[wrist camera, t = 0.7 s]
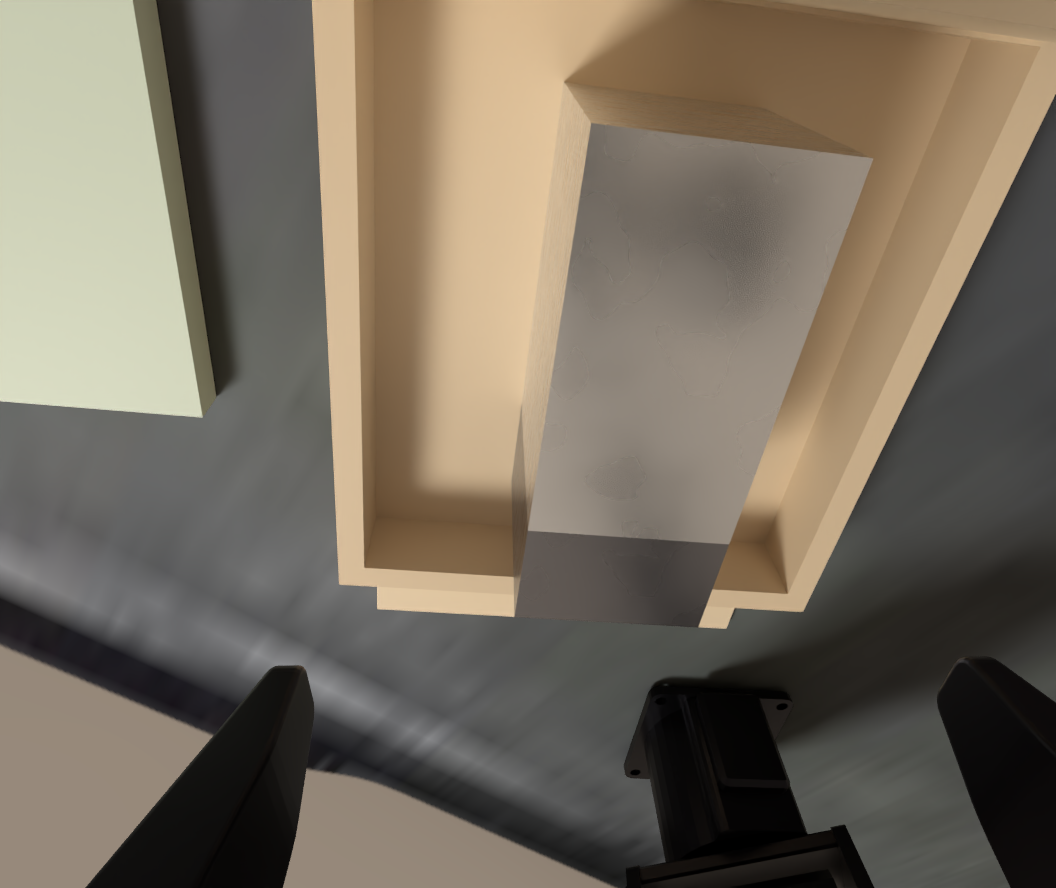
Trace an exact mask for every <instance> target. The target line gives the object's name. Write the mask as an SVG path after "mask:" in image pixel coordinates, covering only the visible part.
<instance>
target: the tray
mask: <svg viewBox="0 0 1056 888" xmlns="http://www.w3.org/2000/svg"><path fill="white" fill-rule="evenodd" d="M312 10H313V31H314V53H315V74H316V96H317V117H318V139H319V160H320V182H321V203H322V225H323V246H324V268H325V289H326V311H327V332H328V354H329V375H330V397H331V418H332V440H333V461H334V483H335V504H336V526H337V547H338V569H339V584H340V585H357V586H374V587H377V609H387V610H404V611H422V612H440V613H458V614H475V615H493V616H511V617H514V576H513V531H512V486H511V480H512V472H513V464H514V457H515V449H516V441H517V434H518V426H519V418H520V411H521V403H522V396H523V388H524V380H525V373H526V365H527V357H528V350H529V342H530V335H531V327H532V319H533V312H534V304H535V296H536V289H537V281H538V274H539V266H540V258H541V251H542V243H543V235H544V228H545V220H546V213H547V205H548V197H549V190H550V182H551V174H552V167H553V159H554V152H555V144H556V136H557V129H558V121H559V113H560V106H561V98H562V91H563V83H564V82H569V83H577V84H585V85H592V86H600V87H608V88H615V89H623V90H631V91H638V92H646V93H654V94H661V95H669V96H677V97H684V98H692V99H699V100H707V101H715V102H722V103H730V104H738V105H745V106H753V107H761V108H765V109H767V110H769V111H771V112H774V113H776V114H778V115H780V116H782V117H784V118H787V119H789V120H791V121H793V122H795V123H797V124H800V125H802V126H804V127H806V128H808V129H811V130H813V131H815V132H817V133H819V134H821V135H824V136H826V137H828V138H830V139H832V140H834V141H837V142H839V143H841V144H843V145H845V146H848V147H850V148H852V149H854V150H856V151H858V152H861V153H863V154H865V155H867V156H869V157H871V158H873V161H872V164H871V166H870V169H869V172H868V174H867V177H866V180H865V182H864V185H863V188H862V191H861V193H860V196H859V199H858V201H857V204H856V207H855V209H854V212H853V215H852V217H851V220H850V223H849V225H848V228H847V231H846V233H845V236H844V239H843V241H842V244H841V247H840V249H839V252H838V255H837V257H836V260H835V263H834V265H833V268H832V271H831V273H830V276H829V279H828V281H827V284H826V287H825V290H824V292H823V295H822V298H821V300H820V303H819V306H818V308H817V311H816V314H815V316H814V319H813V322H812V324H811V327H810V330H809V332H808V335H807V338H806V340H805V343H804V346H803V348H802V351H801V354H800V356H799V359H798V362H797V364H796V367H795V370H794V372H793V375H792V378H791V380H790V383H789V386H788V389H787V391H786V394H785V397H784V399H783V402H782V405H781V407H780V410H779V413H778V415H777V418H776V421H775V423H774V426H773V429H772V431H771V434H770V437H769V439H768V442H767V445H766V447H765V450H764V453H763V455H762V458H761V461H760V463H759V466H758V469H757V471H756V474H755V477H754V479H753V482H752V485H751V488H750V490H749V493H748V496H747V498H746V501H745V504H744V506H743V509H742V512H741V514H740V517H739V520H738V522H737V525H736V528H735V530H734V533H733V536H732V538H731V541H730V544H729V546H728V549H727V552H726V554H725V557H724V560H723V562H722V565H721V568H720V570H719V573H718V576H717V579H716V581H715V584H714V587H713V589H712V592H711V595H710V597H709V600H708V603H707V605H706V608H705V611H704V613H703V616H702V619H701V621H700V624H699V627H706V628H724V629H726V628H727V626H728V623H729V621H730V618H731V616H732V613H733V611H734V609H735V608H744V609H761V610H778V611H795V612H803V611H804V609H805V606H806V604H807V602H808V600H809V598H810V596H811V594H812V592H813V590H814V588H815V586H816V584H817V582H818V580H819V578H820V576H821V574H822V572H823V570H824V568H825V565H826V563H827V561H828V559H829V557H830V555H831V553H832V551H833V549H834V547H835V545H836V543H837V541H838V539H839V537H840V535H841V533H842V531H843V529H844V527H845V525H846V522H847V520H848V518H849V516H850V514H851V512H852V510H853V508H854V506H855V504H856V502H857V500H858V498H859V496H860V494H861V492H862V490H863V488H864V486H865V484H866V481H867V479H868V477H869V475H870V473H871V471H872V469H873V467H874V465H875V463H876V461H877V459H878V457H879V455H880V453H881V451H882V449H883V447H884V445H885V443H886V440H887V438H888V436H889V434H890V432H891V430H892V428H893V426H894V424H895V422H896V420H897V418H898V416H899V414H900V412H901V410H902V408H903V406H904V404H905V402H906V400H907V397H908V395H909V393H910V391H911V389H912V387H913V385H914V383H915V381H916V379H917V377H918V375H919V373H920V371H921V369H922V367H923V365H924V363H925V361H926V359H927V356H928V354H929V352H930V350H931V348H932V346H933V344H934V342H935V340H936V338H937V336H938V334H939V332H940V330H941V328H942V326H943V324H944V322H945V320H946V318H947V315H948V313H949V311H950V309H951V307H952V305H953V303H954V301H955V299H956V297H957V295H958V293H959V291H960V289H961V287H962V285H963V283H964V281H965V279H966V277H967V274H968V272H969V270H970V268H971V266H972V264H973V262H974V260H975V258H976V256H977V254H978V252H979V250H980V248H981V246H982V244H983V242H984V240H985V238H986V236H987V234H988V231H989V229H990V227H991V225H992V223H993V221H994V219H995V217H996V215H997V213H998V211H999V209H1000V207H1001V205H1002V203H1003V201H1004V199H1005V197H1006V195H1007V193H1008V190H1009V188H1010V186H1011V184H1012V182H1013V180H1014V178H1015V176H1016V174H1017V172H1018V170H1019V168H1020V166H1021V164H1022V162H1023V160H1024V158H1025V156H1026V154H1027V152H1028V149H1029V147H1030V145H1031V143H1032V141H1033V139H1034V137H1035V135H1036V133H1037V131H1038V129H1039V127H1040V125H1041V123H1042V121H1043V119H1044V117H1045V115H1046V113H1047V111H1048V108H1049V106H1050V104H1051V102H1052V100H1053V98H1054V96H1055V94H1056V0H312Z"/></svg>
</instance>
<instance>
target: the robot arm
mask: <svg viewBox="0 0 1056 888" xmlns="http://www.w3.org/2000/svg"><path fill="white" fill-rule="evenodd" d="M937 704H938V709H939V712H940V715H941V718H942V721H943V723H944V726H945V729H946V732H947V735H948V737H949V740H950V743H951V746H952V748H953V751H954V754H955V757H956V759H957V762H958V765H959V768H960V771H961V773H962V776H963V779H964V782H965V784H966V787H967V790H968V793H969V795H970V798H971V801H972V803H973V806H974V809H975V811H976V814H977V816H978V819H979V821H980V823H981V825H982V828H983V830H984V832H985V834H986V837H987V839H988V841H989V843H990V845H991V847H992V849H993V852H994V854H995V856H996V858H997V860H998V862H999V864H1000V866H1001V869H1002V871H1003V873H1004V875H1005V877H1006V879H1007V881H1008V883H1009V885H1010V888H1056V702H1054V701H1053V700H1051V699H1050V698H1049V697H1047V696H1046V695H1045V694H1043V693H1042V692H1040V691H1039V690H1038V689H1036V688H1035V687H1034V686H1032V685H1031V684H1029V683H1028V682H1027V681H1025V680H1024V679H1023V678H1021V677H1020V676H1018V675H1017V674H1016V673H1014V672H1013V671H1012V670H1010V669H1009V668H1007V667H1006V666H1005V665H1003V664H1002V663H1001V662H999V661H997V660H996V659H993V658H991V657H985V656H980V657H962V658H960V659H958V660H957V661H956V662H955V664H954V666H953V667H952V669H951V671H950V672H949V674H948V676H947V677H946V679H945V681H944V682H943V684H942V686H941V688H940V689H939V691H938V695H937ZM792 708H793V702H792V700H791V697H790V695H789V694H788V693H785V692H773V691H753V690H732V689H711V688H690V687H669V686H658V687H655V688H652V689H651V690H650V691H649V693H648V695H647V698H646V701H645V704H644V707H643V710H642V713H641V716H640V719H639V722H638V725H637V728H636V730H635V733H634V736H633V739H632V742H631V745H630V748H629V751H628V754H627V757H626V760H625V763H624V770H625V775H626V776H627V777H629V778H640V779H650V782H651V787H652V792H653V797H654V803H655V808H656V813H657V819H658V824H659V829H660V834H661V840H662V845H663V850H664V856H665V861H666V862H665V863H660V864H655V865H650V866H645V867H640V866H639V865H637V866H632V867H626V878H627V886H626V887H625V888H874V886H873V884H872V882H871V880H870V878H869V875H868V873H867V871H866V869H865V867H864V865H863V863H862V860H861V858H860V856H859V854H858V852H857V850H856V848H855V845H854V843H853V841H852V839H851V837H850V835H849V833H848V830H847V828H846V826H845V825H839V826H834V827H831V830H828V831H823V832H818V833H813V834H807V831H806V828H805V826H804V823H803V820H802V817H801V814H800V812H799V809H798V806H797V803H796V801H795V798H794V795H793V792H792V790H791V787H790V781H789V778H788V775H787V773H786V770H785V767H784V764H783V762H782V759H781V756H780V753H779V751H778V748H777V745H776V742H775V740H776V738H777V736H778V734H779V732H780V730H781V728H782V726H783V725H784V723H785V721H786V719H787V717H788V715H789V713H790V712H791V710H792ZM313 720H314V702H313V697H312V693H311V689H310V685H309V681H308V677H307V673H306V670H305V669H304V667H302V666H299V665H295V666H275V667H273V668H271V669H270V670H269V671H268V672H267V673H266V674H265V675H264V676H263V678H262V679H261V680H260V681H259V682H258V683H257V685H256V686H255V687H254V688H253V689H252V691H251V692H250V693H249V694H248V695H247V697H246V698H245V699H244V700H243V701H242V702H241V704H240V705H239V706H238V707H237V708H236V710H235V711H234V712H233V713H232V714H231V716H230V717H229V718H228V719H227V720H226V721H225V723H224V724H223V725H222V726H221V727H220V729H219V730H218V731H217V732H216V733H215V735H214V736H213V737H212V738H211V739H210V741H209V742H208V743H207V744H206V745H205V747H204V748H203V749H202V750H201V751H200V752H199V754H198V755H197V756H196V757H195V758H194V760H193V761H192V762H191V763H190V764H189V766H188V767H187V768H186V769H185V770H184V771H183V773H182V774H181V775H180V776H179V777H178V779H177V780H176V781H175V782H174V783H173V784H172V786H171V787H170V788H169V789H168V791H167V792H166V793H165V794H164V795H163V796H162V797H161V799H160V800H159V801H158V802H157V803H156V805H155V806H154V807H153V808H152V809H151V811H150V812H149V813H148V814H147V815H146V817H145V818H144V819H143V820H142V821H141V822H140V824H139V825H138V826H137V827H136V828H135V830H134V831H133V832H132V833H131V834H130V836H129V837H128V838H127V839H126V840H125V841H124V843H123V844H122V845H121V846H120V847H119V849H118V850H117V851H116V852H115V853H114V854H113V856H112V857H111V858H110V859H109V860H108V862H107V863H106V864H105V865H104V866H103V868H102V869H101V870H100V871H99V872H98V873H97V875H96V876H95V877H94V878H93V879H92V881H91V882H90V883H89V884H88V886H87V887H86V888H283V885H284V881H285V877H286V873H287V869H288V865H289V861H290V858H291V854H292V850H293V845H294V841H295V837H296V831H297V825H298V819H299V813H300V806H301V800H302V794H303V787H304V780H305V774H306V767H307V760H308V754H309V747H310V740H311V734H312V727H313Z"/></svg>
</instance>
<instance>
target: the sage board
mask: <svg viewBox="0 0 1056 888" xmlns="http://www.w3.org/2000/svg"><path fill="white" fill-rule="evenodd" d="M215 399H216V391H215V384H214V378H213V371H212V365H211V358H210V352H209V345H208V338H207V332H206V325H205V319H204V312H203V306H202V299H201V292H200V286H199V279H198V273H197V266H196V260H195V253H194V246H193V240H192V233H191V227H190V220H189V213H188V207H187V200H186V194H185V187H184V181H183V174H182V167H181V161H180V154H179V148H178V141H177V135H176V128H175V121H174V115H173V108H172V102H171V95H170V89H169V82H168V75H167V69H166V62H165V56H164V49H163V43H162V36H161V29H160V23H159V16H158V10H157V3H156V0H0V401H5V402H17V403H29V404H42V405H54V406H67V407H79V408H92V409H104V410H117V411H129V412H141V413H154V414H166V415H179V416H191V417H203V416H204V415H205V413H206V412H207V410H208V409H209V407H210V406H211V405H212V403H213V402H214V400H215Z"/></svg>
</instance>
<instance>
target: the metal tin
mask: <svg viewBox="0 0 1056 888" xmlns="http://www.w3.org/2000/svg"><path fill="white" fill-rule="evenodd" d="M872 161H873V158H871V157H869V156H867V155H865V154H863V153H861V152H858V151H856V150H854V149H852V148H850V147H848V146H845V145H843V144H841V143H839V142H837V141H834V140H832V139H830V138H828V137H826V136H824V135H821V134H819V133H817V132H815V131H813V130H811V129H808V128H806V127H804V126H802V125H800V124H797V123H795V122H793V121H791V120H789V119H787V118H784V117H782V116H780V115H778V114H776V113H774V112H771V111H769V110H767V109H765V108H761V107H753V106H745V105H738V104H730V103H722V102H715V101H707V100H699V99H692V98H684V97H677V96H669V95H661V94H654V93H646V92H638V91H631V90H623V89H615V88H608V87H600V86H592V85H585V84H577V83H569V82H564V83H563V91H562V98H561V106H560V113H559V121H558V129H557V136H556V144H555V152H554V159H553V167H552V174H551V182H550V190H549V197H548V205H547V213H546V220H545V228H544V235H543V243H542V251H541V258H540V266H539V274H538V281H537V289H536V296H535V304H534V312H533V319H532V327H531V335H530V342H529V350H528V357H527V365H526V373H525V380H524V388H523V396H522V403H521V411H520V418H519V426H518V434H517V441H516V449H515V457H514V464H513V472H512V480H511V486H512V531H513V576H514V617H524V618H541V619H559V620H577V621H595V622H612V623H630V624H648V625H666V626H683V627H699V624H700V621H701V619H702V616H703V613H704V611H705V608H706V605H707V603H708V600H709V597H710V595H711V592H712V589H713V587H714V584H715V581H716V579H717V576H718V573H719V570H720V568H721V565H722V562H723V560H724V557H725V554H726V552H727V549H728V546H729V544H730V541H731V538H732V536H733V533H734V530H735V528H736V525H737V522H738V520H739V517H740V514H741V512H742V509H743V506H744V504H745V501H746V498H747V496H748V493H749V490H750V488H751V485H752V482H753V479H754V477H755V474H756V471H757V469H758V466H759V463H760V461H761V458H762V455H763V453H764V450H765V447H766V445H767V442H768V439H769V437H770V434H771V431H772V429H773V426H774V423H775V421H776V418H777V415H778V413H779V410H780V407H781V405H782V402H783V399H784V397H785V394H786V391H787V389H788V386H789V383H790V380H791V378H792V375H793V372H794V370H795V367H796V364H797V362H798V359H799V356H800V354H801V351H802V348H803V346H804V343H805V340H806V338H807V335H808V332H809V330H810V327H811V324H812V322H813V319H814V316H815V314H816V311H817V308H818V306H819V303H820V300H821V298H822V295H823V292H824V290H825V287H826V284H827V281H828V279H829V276H830V273H831V271H832V268H833V265H834V263H835V260H836V257H837V255H838V252H839V249H840V247H841V244H842V241H843V239H844V236H845V233H846V231H847V228H848V225H849V223H850V220H851V217H852V215H853V212H854V209H855V207H856V204H857V201H858V199H859V196H860V193H861V191H862V188H863V185H864V182H865V180H866V177H867V174H868V172H869V169H870V166H871V164H872Z"/></svg>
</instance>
